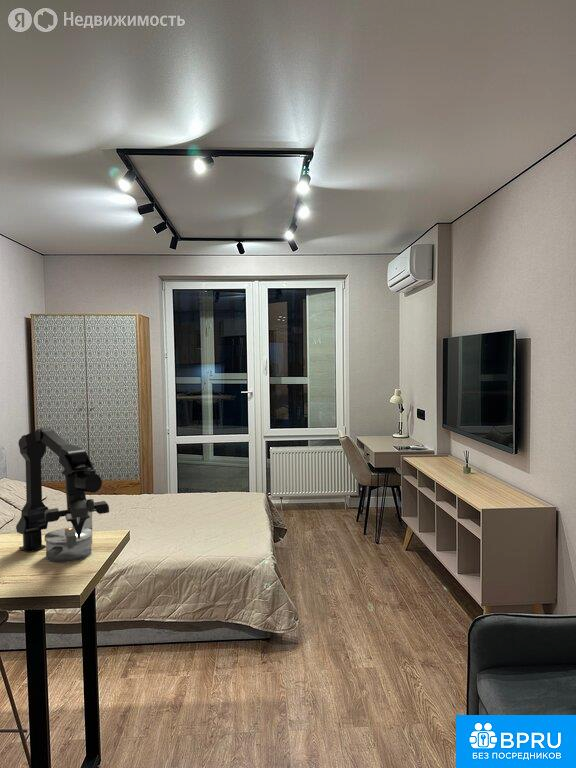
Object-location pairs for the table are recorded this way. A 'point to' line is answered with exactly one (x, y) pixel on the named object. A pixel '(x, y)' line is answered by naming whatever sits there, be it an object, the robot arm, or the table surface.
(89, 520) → the skincare box
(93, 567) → the table surface
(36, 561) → the table surface
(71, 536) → the lid
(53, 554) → the pot
